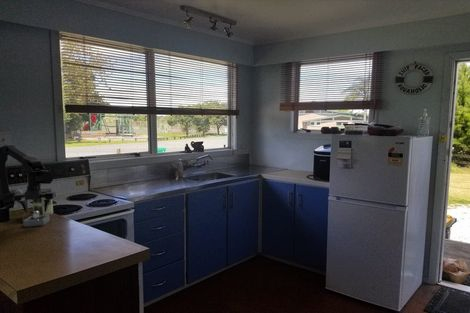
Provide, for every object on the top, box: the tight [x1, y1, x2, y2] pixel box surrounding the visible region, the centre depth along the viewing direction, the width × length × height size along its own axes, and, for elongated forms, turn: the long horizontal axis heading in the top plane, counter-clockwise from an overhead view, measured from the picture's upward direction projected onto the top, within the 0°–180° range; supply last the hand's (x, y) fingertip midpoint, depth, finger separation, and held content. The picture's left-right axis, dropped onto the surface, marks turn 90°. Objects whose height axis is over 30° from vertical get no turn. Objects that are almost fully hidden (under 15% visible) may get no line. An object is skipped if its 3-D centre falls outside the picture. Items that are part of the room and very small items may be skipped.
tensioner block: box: [21, 210, 40, 223], centre depth 190 cm, size 9×6×4 cm, turn 12°
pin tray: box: [22, 215, 51, 228], centre depth 182 cm, size 10×10×3 cm
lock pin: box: [33, 211, 39, 220], centre depth 182 cm, size 2×2×6 cm
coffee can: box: [32, 188, 54, 216], centre depth 202 cm, size 10×10×14 cm
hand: (36, 212), depth 182 cm, fingers open, 9 cm apart
